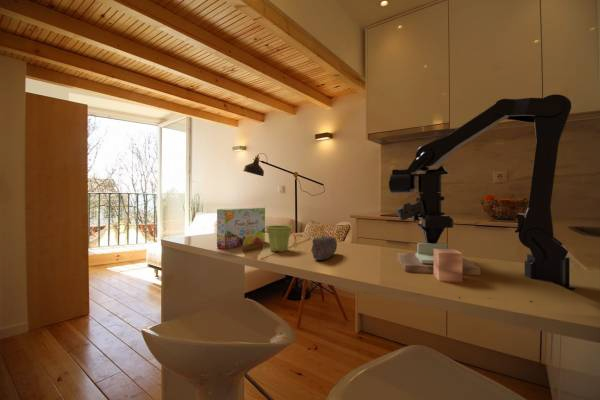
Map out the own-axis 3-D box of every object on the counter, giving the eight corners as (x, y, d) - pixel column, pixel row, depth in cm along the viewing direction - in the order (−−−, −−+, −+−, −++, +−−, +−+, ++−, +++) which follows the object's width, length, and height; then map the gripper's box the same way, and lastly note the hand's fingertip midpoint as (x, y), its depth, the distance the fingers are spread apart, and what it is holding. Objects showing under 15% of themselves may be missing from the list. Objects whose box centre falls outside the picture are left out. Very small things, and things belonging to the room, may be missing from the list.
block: (455, 280, 63) (455, 249, 63) (462, 287, 58) (462, 253, 58) (433, 279, 64) (433, 248, 64) (438, 285, 59) (438, 252, 59)
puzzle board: (458, 265, 77) (458, 254, 77) (480, 281, 63) (480, 268, 63) (397, 263, 80) (397, 253, 80) (405, 277, 67) (405, 265, 67)
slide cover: (448, 256, 73) (448, 243, 73) (458, 264, 66) (458, 249, 66) (415, 255, 75) (415, 242, 75) (421, 263, 67) (421, 248, 67)
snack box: (225, 249, 105) (225, 209, 104) (216, 248, 108) (215, 208, 108) (266, 241, 121) (265, 206, 121) (256, 240, 125) (256, 206, 125)
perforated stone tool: (328, 252, 97) (328, 232, 97) (342, 254, 95) (342, 233, 95) (307, 261, 85) (306, 238, 84) (322, 263, 82) (322, 239, 82)
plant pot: (282, 246, 109) (281, 224, 109) (297, 250, 102) (297, 226, 101) (261, 250, 103) (260, 226, 103) (276, 254, 96) (275, 228, 95)
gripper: (394, 193, 86) (394, 244, 87) (403, 193, 68) (403, 257, 68) (433, 192, 84) (433, 245, 84) (453, 192, 66) (454, 259, 66)
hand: (430, 250), depth 76 cm, fingers closed
